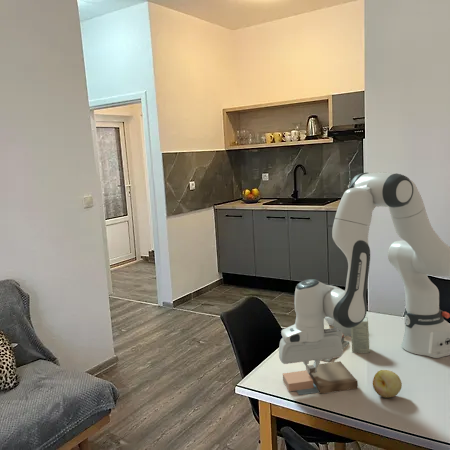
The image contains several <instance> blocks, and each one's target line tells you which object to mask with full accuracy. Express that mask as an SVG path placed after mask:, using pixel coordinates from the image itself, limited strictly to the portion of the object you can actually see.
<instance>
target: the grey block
mask: <svg viewBox="0 0 450 450" xmlns="http://www.w3.org/2000/svg"><path fill="white" fill-rule="evenodd" d="M333 328H337V329H339V330H341V332H342V333H343V334H344V337H351V328H346V327H344V326H342V325H341V324H339V323H338V322H337V321H336V320H334V326H333ZM337 331H338V330H337Z"/></svg>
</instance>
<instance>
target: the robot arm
mask: <svg viewBox="0 0 450 450" xmlns="http://www.w3.org/2000/svg"><path fill="white" fill-rule="evenodd" d="M421 195H422V194H421V193H420V191H419V189H418V187H417V186H416V184H415V182H413V180H411V179H410V178H409V177H408V176H406V175H404V174H401V173H392V172H384V171H383V172H382V171H378V172H362V173H358V174H357V175H354V177H353V178H352V179H351V181H350V183H349V186H348V188H347V189H346V190H345V191H344V192H343V195H342V196H341V199H340V202H339V203H338V206H337V210H336V213H335V217H334V220H333V224H332V231H331V234H332V235H331V236H332V240H333V243H335V245H336V246H337V248H339V249H340V250H341V252H342V253H343V254H344V256H345V258H346V260H347V261H346V262H347V266H348V267H347V275H346V282H345V289H342V288H340V287H338V286H335V285H330V284H326V283H323V282H321V281H319V280H318V279H315V278H314V279H313V278H311V279H310V278H309V279H304V280H302V281H300V282H299V283H297V284H296V286H295V291H294V311H295V314H296V315H295V316H296V317H295V322H294V324H292V325H289V326H287V327H285V328H283V329H281V331H280V332H281V333H280V334H281V336H282V338H281V339H280V341H279V347H278V358H279V360H280V361H281V363H282V364H283V365H288V364H296V363H303V364H304V366H305V370H306V369H307V373H316V372H317V367H318V365H319V364H321V360H320V359H328V358H332V359H335V358H340V357H342V356H343V354H344V348H342V343H341V339H342V332H341V330H339V329H337V328H334V327H333V328H325V317H330V318H332V319H334V320H336V321H337V322H338V323H339V324H341V325H342V326H344V327H346V328H352V327H355V326H357V325H359V324H360V323H361V322H362V321H363V320H364V318H365V317H366V315H367V311H368V306H367V305H368V304H367V303H368V302H367V290H368V289H367V287H368V283H369V282H368V281H369V273H370V263H371V248H370V245H369V234H370V233H369V231H370V226H371V224H372V223H371V222H372V219H373V218H372V217H373V212H374V210H375V208H376V207H378V208H379V207H382V208H384V207H385V208H386V207H387V208H388V210H389V214H390V217H391V220H392V225H393V226H394V230H395V233H396V235H397V236H398V237H399V238H400V239H401V240H395V241H393V242H392V243H391V244H390V246H389V247H388V251H387V260H388V262H389V263H390V264H391V265H392V266H393V267H394V268H395V270H396V271H397V273H398V275H399V277H400V280H401V282H402V284H403V287H404V288H403V289H404V294H405V295H404V296H405V298H404V299H405V301H404V302H405V308H404V314H403V315H404V331H403V332H404V333H403V338H402V341H401V344H400V345H401V348H402V349H403V350H405V351H406V352H408V353H411V354H415V355H418V356H419V355H420V356H425V357H430V358H434V359H439V358H444V357H449V356H450V323H449V322H448V321H447V320H446V319H449V318H450V313H449V312H447V311H443V310H441V309H440V291H439V289H438V287H437V286H436V285H435V284H434V283H433V282H432V281H431V279H430V278H429V277H428V276H433V277H450V246H449V245H448V244H447V243H445V242H444V241H443V240H442V238H440V236H439V235H438V234H437V233H436V231H435V230H434V228H433V227H432V224H431V222H430V220H429V217H428V214H427V210H426V207H425V204H424V200H423V199H422V196H421ZM444 318H445V319H444ZM337 330H338V331H337ZM311 361H314V363H313V364H312V365H313V366H309V363H310V362H311Z"/></svg>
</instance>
